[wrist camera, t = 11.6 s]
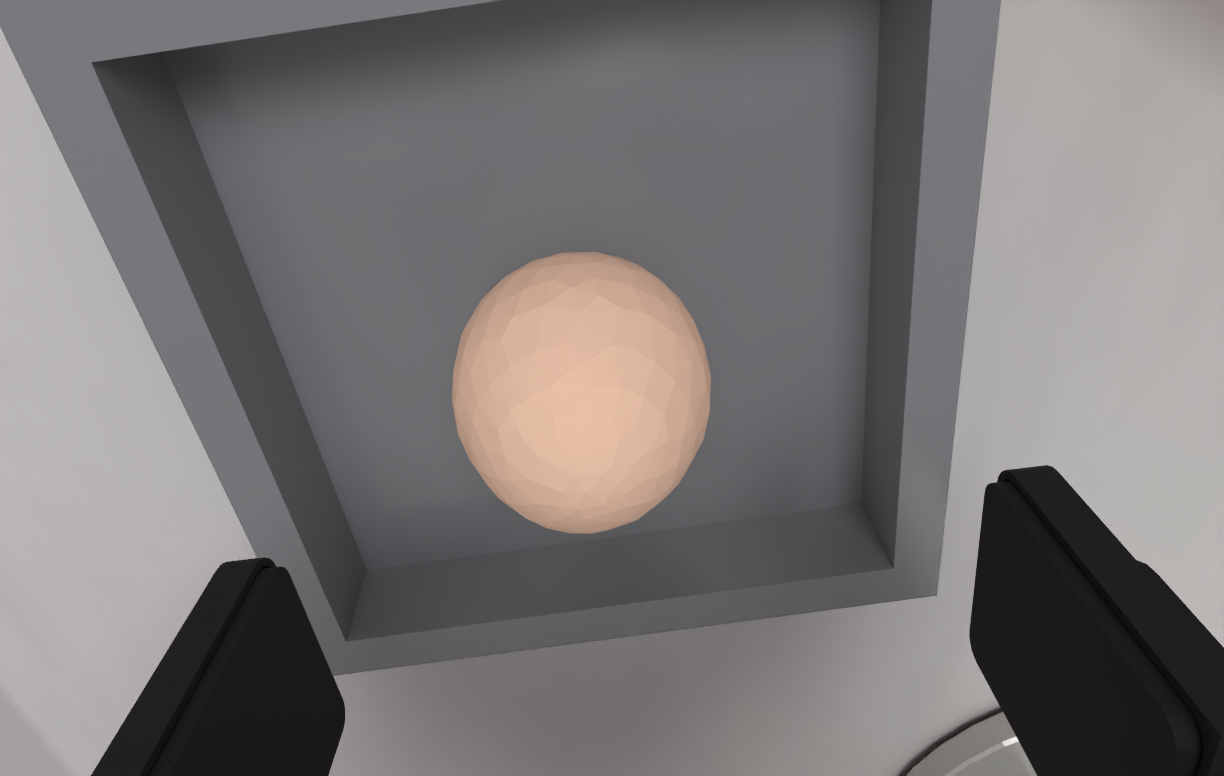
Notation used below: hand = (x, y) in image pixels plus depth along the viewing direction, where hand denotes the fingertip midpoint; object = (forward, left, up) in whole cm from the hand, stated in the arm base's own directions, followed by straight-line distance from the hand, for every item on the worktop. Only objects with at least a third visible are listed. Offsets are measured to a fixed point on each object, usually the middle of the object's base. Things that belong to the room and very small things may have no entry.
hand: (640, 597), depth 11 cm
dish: (+1, 0, -8) cm, 8 cm away
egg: (+1, 0, -7) cm, 7 cm away
